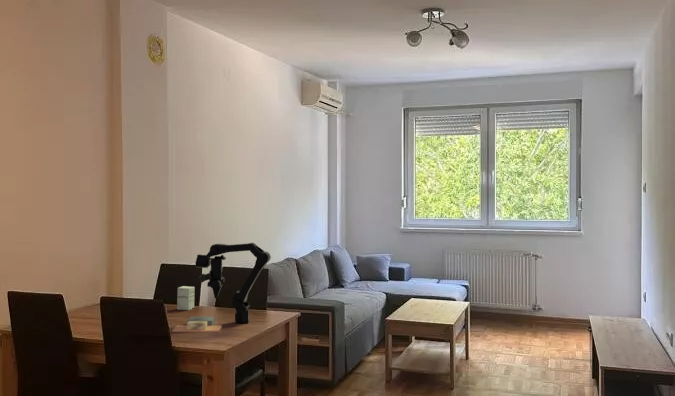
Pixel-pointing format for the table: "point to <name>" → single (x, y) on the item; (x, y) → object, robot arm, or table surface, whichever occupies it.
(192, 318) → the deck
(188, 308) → the supplement box
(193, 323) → the birch block
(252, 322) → the table surface
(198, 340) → the table surface
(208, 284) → the robot arm
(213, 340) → the table surface
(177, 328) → the mat
